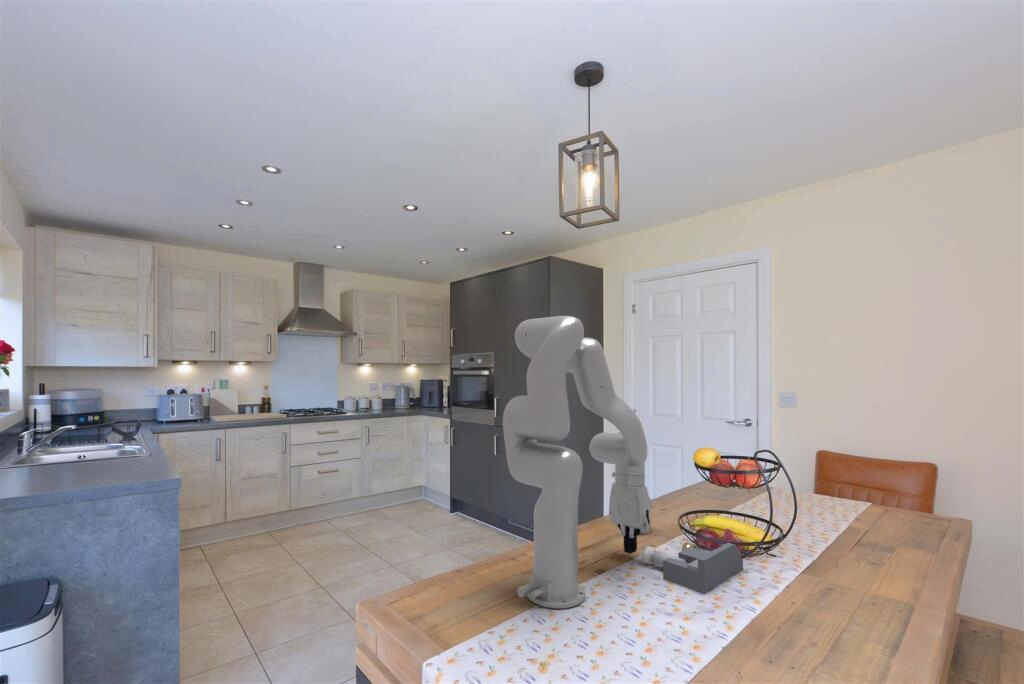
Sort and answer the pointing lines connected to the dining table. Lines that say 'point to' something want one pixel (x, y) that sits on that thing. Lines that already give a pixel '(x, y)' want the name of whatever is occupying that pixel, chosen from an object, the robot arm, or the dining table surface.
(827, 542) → the dining table surface
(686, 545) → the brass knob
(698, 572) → the mount
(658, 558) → the light grey capped cylinder
